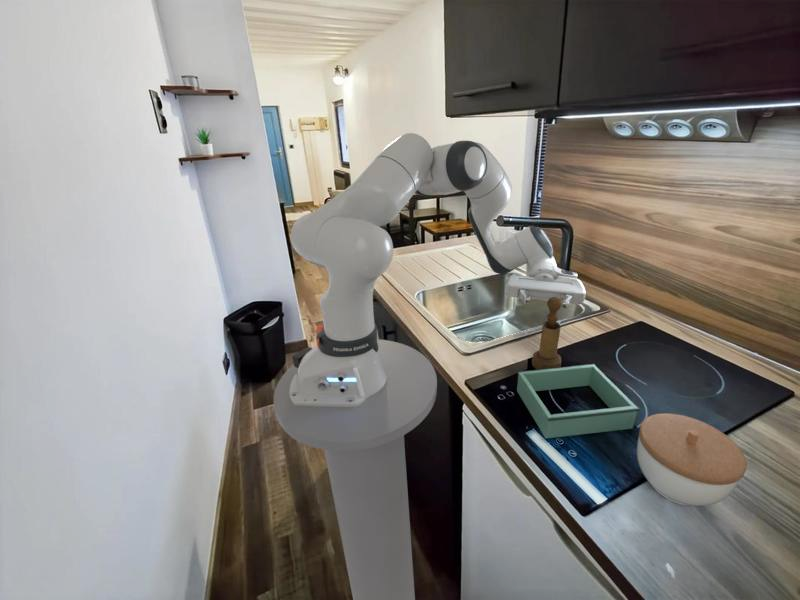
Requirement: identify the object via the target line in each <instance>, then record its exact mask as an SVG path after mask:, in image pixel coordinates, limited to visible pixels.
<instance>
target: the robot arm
mask: <svg viewBox="0 0 800 600" xmlns="http://www.w3.org/2000/svg"><path fill="white" fill-rule="evenodd" d="M460 192H464V193H465V195H466V197H467V199H469V201H470V208H469V209H468V211H467V214H468V220H469V223H470V226H471V228H472V230H473V233H474V235H475V237H476V239H477V240H478V243H479V245H480V247H481V249H482V251H483V253H484V255H485V257H486V261H487V263H488V267H490V269H491V270H492V272H493V273H495V274H498V275H504V276H505V275H507V274H509V273H511V272H513V271H515V269H518V268H520V267H522V266H524V265H526V266H525V270H526V271H525V272H526V275H521V274H520V275H519V274H512V275H510V276H507V277H505V284H506V288H505V295H506V296H507V297H509V298H518V299H520V300H521V301H522V304H523V305H530V301H531V300H535V301H537V300H538V301H545V302H547V301H548V299H549V298H551V297H558V298H560V300H561V302H562V305H561V307H560V309H566V310H568V309H569V306H570V305H571V304H574V305H582V304H584V302H585V300H586V295H587V291H586V288H585V286H584V284H583V282H582V280H580V279H579V278H578V273H577V272H574V271H569V270H566V269H563V268H560V267H558V266H557V265H558V264H557V261H556V259H555V257H554V247H553V244H552V242H551V239H550V238H549V236H548V235H547V232H545V231H544V229H542V228H540V227H538V226H534V225H530V226H527V227H525V228H523V229H521V230H519V231H518V232H516V233H514V234H512V235H510V236H508V237H506V238H504V239H502V240H499V241H495V239H494V236H493V234H492V232H491V229H490V226H491V225H492V223H493V222H494V221H495V219H496V218H497V217H498V216H499V215H500V214H501V213H502V212H503V211H504V210H505V208H506V207H507V206H508V204H509V202H510V199H511V196H512V193H513V187H512V183H511V181H510V178H509V176H508V174H507V172H506V171H505V169H504V167H503V166H502V164H501V163H500V162H499V160H497V158H496V157H495V156H494V154H493V153H492V152H491V151H490V150H489V149H488V148H487V147H486V146H485V145H484V144H483V143H480V142H475V141H472V140H457V141H455V142H452V143H446V144H442V145H438V146H434V147H431V145H430V143H429V142H428V141H427V139H425V138H424V137H423V136H422V135H420V134H417V133H414V132H408V133H403V134H402V135H400V136H398V138H396V139H394V140H393V141H392V142H390V144H388V145H387V146H386V147H385V148H384V149H383V150H382V151H380V153H379V154H378V155H377V156H376V157H375V158H374V159H373V160H372V162H371V163H370V164H369V165H368V166H367V167H366V168H365V169H364V170H363V172H361V174H360V175H359V176H358V177H357V178H356V180H354V181H353V182H352V183H351V184H350V185H348V187H346V188H345V189H344V190H342V191H341V192H339V193H338V194H337V195H335V196H333V198H332V199H330V200H329V201H327V202H326V203H324V204H323V205H322V206H320V207H319V208H317V209H315V210H314V211H311V212H309V213H307V214H304V215H302V216H300V217H299V218H297V220H295V222H294V224H293V225H292V227H291V230H290V243H291V246H292V248H293V249H294V251H295V252H296V253H297V254H298V255H299V256H300V257H302V258H303V259H304V260H306V261H307V262H309V263H310V264H313V265H315V266H318V267H321V268H323V269H326V271H327V273H328V278H329V280H328V289H327V290H325V292H323V294H322V295H321V297H320V301H319V305H320V306H319V307H320V311H321V312H320V313H321V318H322V319H321V320H322V323H323V324H322V323H320V324H317V326H316V330H315V333H316V336H315V340H316V345H315V346H314V347H310V346H307V347H305V348H303V349H301V350H300V351H298V352H297V353H295V354H293V355H291V357H292V363H293V365H294V367H296V368H298V372H297V373H296V374H295V376H294V377H293V379H292V382H291V385H290V390H289V395H290V400H291V402H292V404H293V405H294V406H317V407H359V406H360V405H362V404H363V403H364V402H365V400H366V399H367V398H369V397H371V396H372V395H374V394H376V393H377V392H379V391H380V390H381V389H382V388H383V387H384V385H385V383H386V380H387V376H386V373H385V371H384V369H383V366H382V364H381V360H380V356H379V352H378V346H379V340H380V339H379V331H378V328H377V324H376V323H375V315H374V290H375V285H376V283H377V280H378V278H379V277H381V276H382V275H383V274H384V273H385V272H386V271H387V270H388V268H389V267H390V265H391V263H392V260H393V257H394V256H393V255H394V243H393V240H392V237H391V235H390V234H389V232H388V231H387V230H385V229H384V228H382V227H381V226H385V225H387V224H389V223H391V222H392V221H394V220H395V219H396V218H397V216H398V215H399V214H400V213H401V211H402V210H403V209H404V207H406V205H407V204H408V202H409V201H410V200H411V198H413V196H414V195H417V196H421V197H430V196H431V197H432V196H447V195H453V194H456V193H460Z"/></svg>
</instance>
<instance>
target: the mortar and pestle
mask: <svg viewBox="0 0 800 600" xmlns="http://www.w3.org/2000/svg"><path fill="white" fill-rule="evenodd" d="M546 305H547V308H548V310H549V313H548V314H547V315H546V317H547V318H546V319H547V320H546V321H544V322H542V326H541V333H540V342H539V348H538V350H536V351H535V352H533V354H532V358H531V365H532V367H533V368H534V369H535V370H540V369H550V368H560V367H562V360H563V359H562V357H561V355H560V354H558V347H559V342H560V341H559V340H560V333H561V328H562V326H561V324H560V323H558V319H559V316H558V314H557V313H558V312H559V310H560V309H561V305H562V302H561V300H560V298H558V297H551V298H549V299H548V301H546Z"/></svg>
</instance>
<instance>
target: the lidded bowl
mask: <svg viewBox="0 0 800 600" xmlns="http://www.w3.org/2000/svg"><path fill="white" fill-rule="evenodd" d="M636 458H637V463H638V466H639V469H640V471H641V473H642V475H643V476H644V478H645V479H646V481H648V483H649V484H650V485H651V487H652V488H653V489H654V490H655V492H657V493H658V494H660V496H662V497H663V498H664V499H666V500H668V501H670V502H672V503H674V504H677V505H679V506H685V507H708V506H713V505H715V504H718V503H720V502H722V501H724V500H725V499H726V498H727V497H729V496H730V494H732V493H733V491H734V490H735V489H736V488H737V486H738V484H739V482H740V480H741V479H742V478H743V477H744V475H745V473H746V471H747V467H748V462H747V458H746V455H745V454H744V451H742V450H741V447H739V446H738V445H737V443H736V442H735V441H734V440H733V439H732V438H730V437H729V436H728V435H727V434H725V433H724V432H722V431H721V430H719V429H718V428H715V427H714V426H713V425H710V424H708V423H706V422H704V421H702V420H699V419H696V418H693V417H689V416H687V415H682V414H677V413H665V412H664V413H656V414H655V413H654V414H652V415H649V416H647V417H646V418H644V419H643V421H642V422H641V423H640V426H639V432H638V437H637V442H636Z"/></svg>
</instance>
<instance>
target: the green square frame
mask: <svg viewBox="0 0 800 600" xmlns="http://www.w3.org/2000/svg"><path fill="white" fill-rule="evenodd" d="M587 386H588V387H590V388H591V389H592V390H593V391H594V393H595V394H596V395H597V396H598V397H599V398H600V399H601V400H602V402H604V404H605V405H606V406H607V408H600V409H598V408H597V409H591V410H590V409H589V410H580V411H571V412H563V413H554V414H551V413H550V411H549V410H548V408H547V407H546V405H545V404H544V403H543V400H541V398H540V397H539V395H538V394H537V392H542V391H549V390H550V391H551V390H559V389H570V388H578V387H587ZM516 392H517V394H518V395H519V397H520V399H521V400H522V402H523V403H524V405H525V407H526V408H527V411H528V412H529V413H530V415H531V417H532V418H533V420H534V422H535V424H536V425H537V427H538V428H539V430H540V432H541V434H542V435H543V437H544V439H554V438H561V437H563V438H564V437H572V436H580V435H581V436H582V435H588V434H597V433H604V432H605V433H606V432H607V433H608V432H615V431H624V430H632V429H634V425H635V421H636V417H637V415H638V412H639V411H640V407H638V406H637V405H636V404H635V403H634V402H633V401H632V400H631V399H630V398H629V397H628V396H627V395H626V394H624V393H623V391H622V390H621V389H620V388H618V386H617V385H615V383H614V382H613V381H611V379H610V378H608V377H607V376H606V374H605V373H604V372H602V371H601V370H600V368H599V367H598V366H596V363H591V364H581V365H580V364H579V365H571V366H561V367H560V368H550V369H540V370H537V369H532V370H531V369H530V370H522V371H517V385H516Z"/></svg>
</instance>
